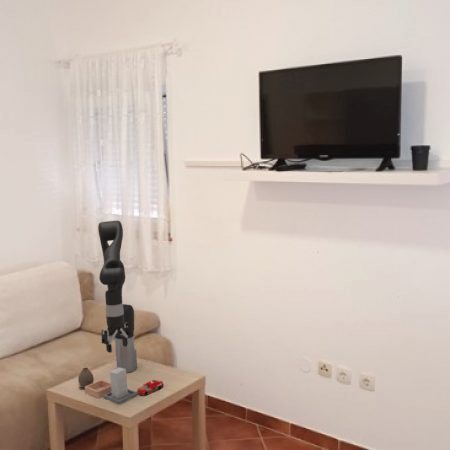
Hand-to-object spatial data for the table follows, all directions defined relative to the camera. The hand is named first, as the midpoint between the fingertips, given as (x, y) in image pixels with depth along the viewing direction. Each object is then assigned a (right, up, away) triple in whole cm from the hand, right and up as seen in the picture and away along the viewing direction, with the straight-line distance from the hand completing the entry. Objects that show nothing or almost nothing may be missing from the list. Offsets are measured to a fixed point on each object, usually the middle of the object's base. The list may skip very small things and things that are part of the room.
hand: (117, 349), depth 247 cm
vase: (-17, -21, +16) cm, 31 cm away
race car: (+13, -21, +9) cm, 26 cm away
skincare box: (+1, -22, +3) cm, 22 cm away
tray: (+1, -22, +3) cm, 22 cm away
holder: (-10, -21, +9) cm, 25 cm away
